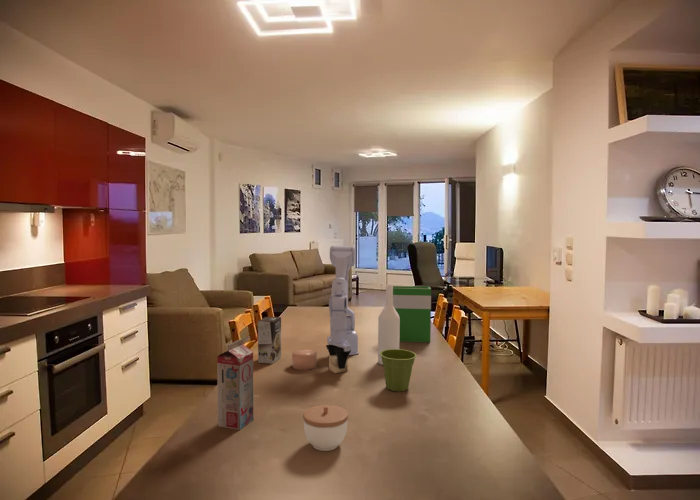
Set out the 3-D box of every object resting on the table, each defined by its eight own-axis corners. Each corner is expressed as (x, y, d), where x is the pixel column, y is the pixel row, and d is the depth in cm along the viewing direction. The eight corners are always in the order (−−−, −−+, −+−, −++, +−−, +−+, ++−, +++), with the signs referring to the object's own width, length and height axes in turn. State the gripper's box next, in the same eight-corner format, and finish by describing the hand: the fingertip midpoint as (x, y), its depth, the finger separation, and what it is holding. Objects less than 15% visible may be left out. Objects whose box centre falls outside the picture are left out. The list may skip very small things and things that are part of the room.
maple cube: (341, 367, 172) (341, 353, 171) (347, 371, 167) (347, 357, 167) (328, 369, 169) (329, 355, 169) (335, 373, 165) (335, 359, 165)
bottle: (402, 361, 179) (403, 284, 178) (395, 367, 172) (396, 286, 170) (382, 358, 183) (383, 282, 181) (374, 364, 175) (375, 285, 174)
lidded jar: (303, 435, 117) (303, 398, 116) (346, 434, 118) (346, 397, 117) (302, 456, 106) (302, 416, 106) (349, 455, 107) (349, 415, 107)
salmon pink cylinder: (310, 361, 179) (310, 348, 179) (320, 367, 171) (320, 354, 171) (288, 364, 175) (288, 351, 175) (297, 371, 167) (297, 357, 167)
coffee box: (273, 364, 175) (273, 321, 174) (257, 362, 176) (257, 320, 175) (281, 357, 184) (281, 316, 183) (266, 356, 185) (266, 316, 184)
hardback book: (390, 341, 210) (391, 288, 208) (390, 337, 217) (391, 285, 216) (430, 342, 208) (431, 289, 207) (429, 338, 215) (429, 286, 214)
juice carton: (253, 419, 126) (252, 339, 125) (239, 430, 120) (239, 345, 118) (232, 416, 128) (231, 337, 127) (218, 426, 122) (217, 343, 121)
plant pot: (392, 397, 143) (392, 361, 142) (372, 385, 153) (372, 351, 152) (423, 391, 148) (424, 356, 147) (402, 379, 159) (403, 347, 158)
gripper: (319, 326, 172) (319, 362, 173) (337, 334, 159) (337, 373, 160) (336, 324, 175) (336, 359, 176) (355, 332, 163) (355, 370, 163)
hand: (338, 366), depth 168 cm, fingers closed on maple cube, 5 cm apart
